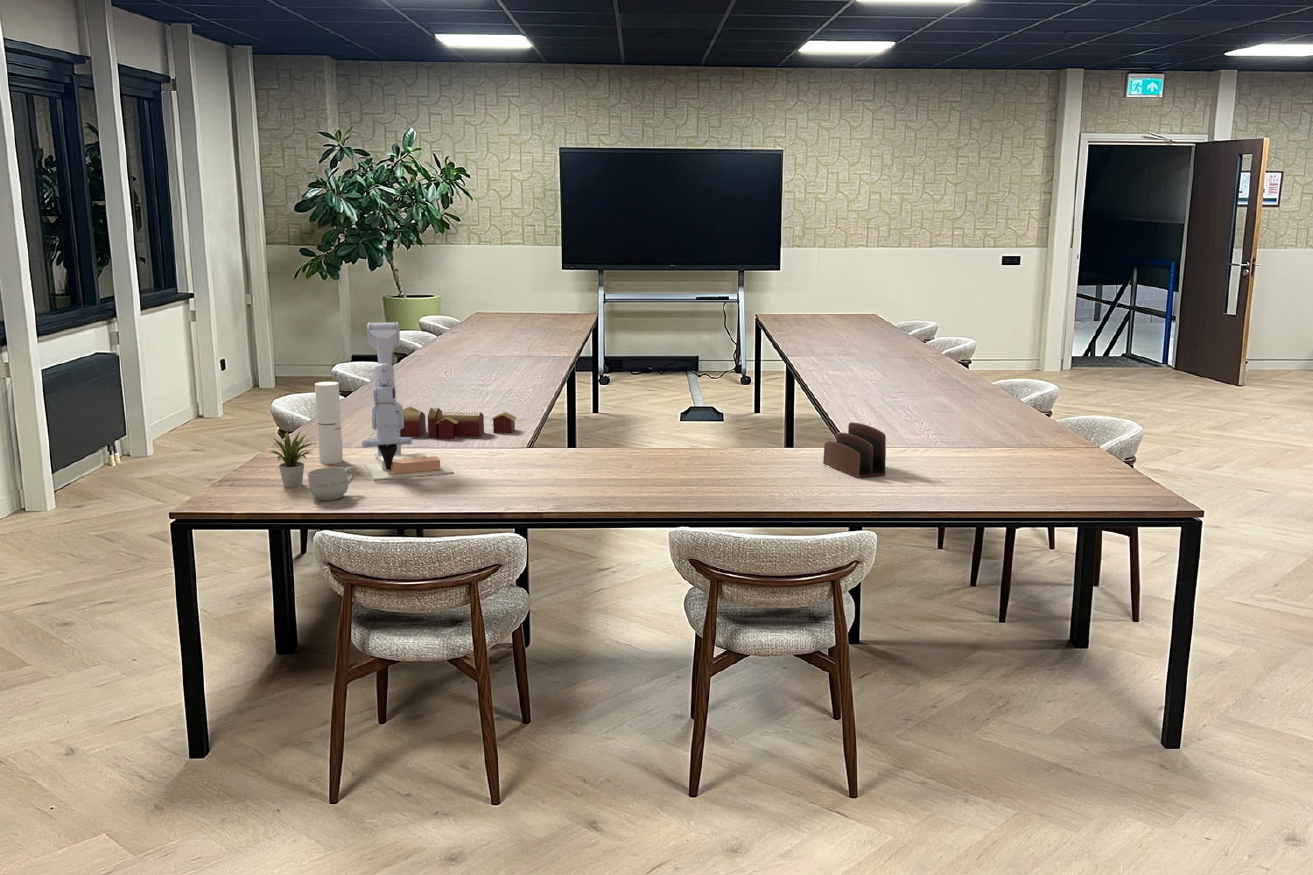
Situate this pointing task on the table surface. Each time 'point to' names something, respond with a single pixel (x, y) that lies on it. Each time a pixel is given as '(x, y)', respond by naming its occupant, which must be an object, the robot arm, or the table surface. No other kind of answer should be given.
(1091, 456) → the table surface
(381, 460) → the ticket book
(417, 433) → the toy houses
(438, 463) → the stub
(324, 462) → the cylindrical container
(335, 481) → the teacup
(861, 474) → the letter holder
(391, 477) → the mat
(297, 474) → the house plant
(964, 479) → the table surface
